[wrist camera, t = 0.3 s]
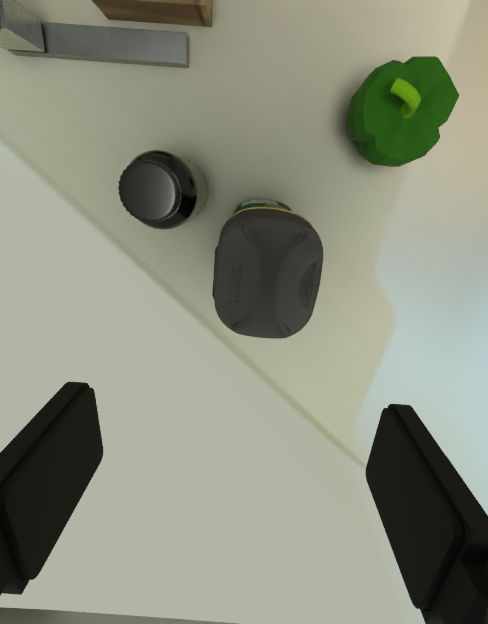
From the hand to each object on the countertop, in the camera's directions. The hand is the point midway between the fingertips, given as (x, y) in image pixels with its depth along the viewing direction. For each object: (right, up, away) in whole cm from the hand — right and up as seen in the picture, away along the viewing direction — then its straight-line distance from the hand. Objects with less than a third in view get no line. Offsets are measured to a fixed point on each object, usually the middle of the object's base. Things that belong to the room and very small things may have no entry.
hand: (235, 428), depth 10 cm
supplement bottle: (-7, +18, +26) cm, 33 cm away
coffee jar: (+2, +13, +28) cm, 31 cm away
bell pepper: (+14, +24, +23) cm, 36 cm away
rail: (-14, +30, +21) cm, 40 cm away
